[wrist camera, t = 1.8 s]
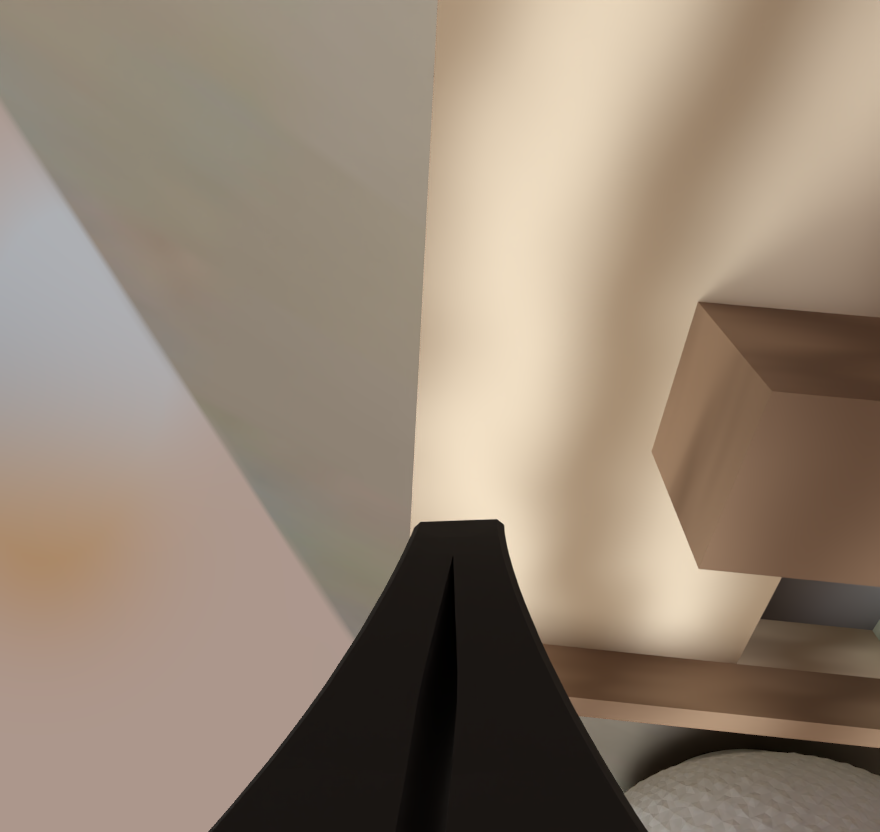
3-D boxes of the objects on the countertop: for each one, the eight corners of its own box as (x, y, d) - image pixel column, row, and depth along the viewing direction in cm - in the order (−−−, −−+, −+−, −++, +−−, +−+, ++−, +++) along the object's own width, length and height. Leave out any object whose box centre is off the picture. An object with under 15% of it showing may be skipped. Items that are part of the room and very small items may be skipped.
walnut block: (884, 318, 14) (1027, 414, 11) (811, 466, 17) (906, 589, 13) (697, 301, 15) (772, 391, 11) (651, 451, 17) (698, 568, 13)
